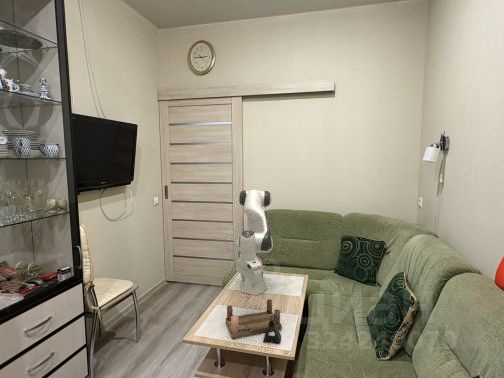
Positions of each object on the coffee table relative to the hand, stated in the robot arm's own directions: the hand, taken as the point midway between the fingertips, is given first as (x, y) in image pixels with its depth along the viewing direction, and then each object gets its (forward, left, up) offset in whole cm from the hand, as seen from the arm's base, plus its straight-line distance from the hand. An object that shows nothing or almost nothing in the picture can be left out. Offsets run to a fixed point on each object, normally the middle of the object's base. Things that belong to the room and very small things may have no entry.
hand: (248, 284), depth 168 cm
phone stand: (+15, +8, -25) cm, 31 cm away
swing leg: (+6, -6, -22) cm, 23 cm away
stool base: (0, +2, -25) cm, 25 cm away
